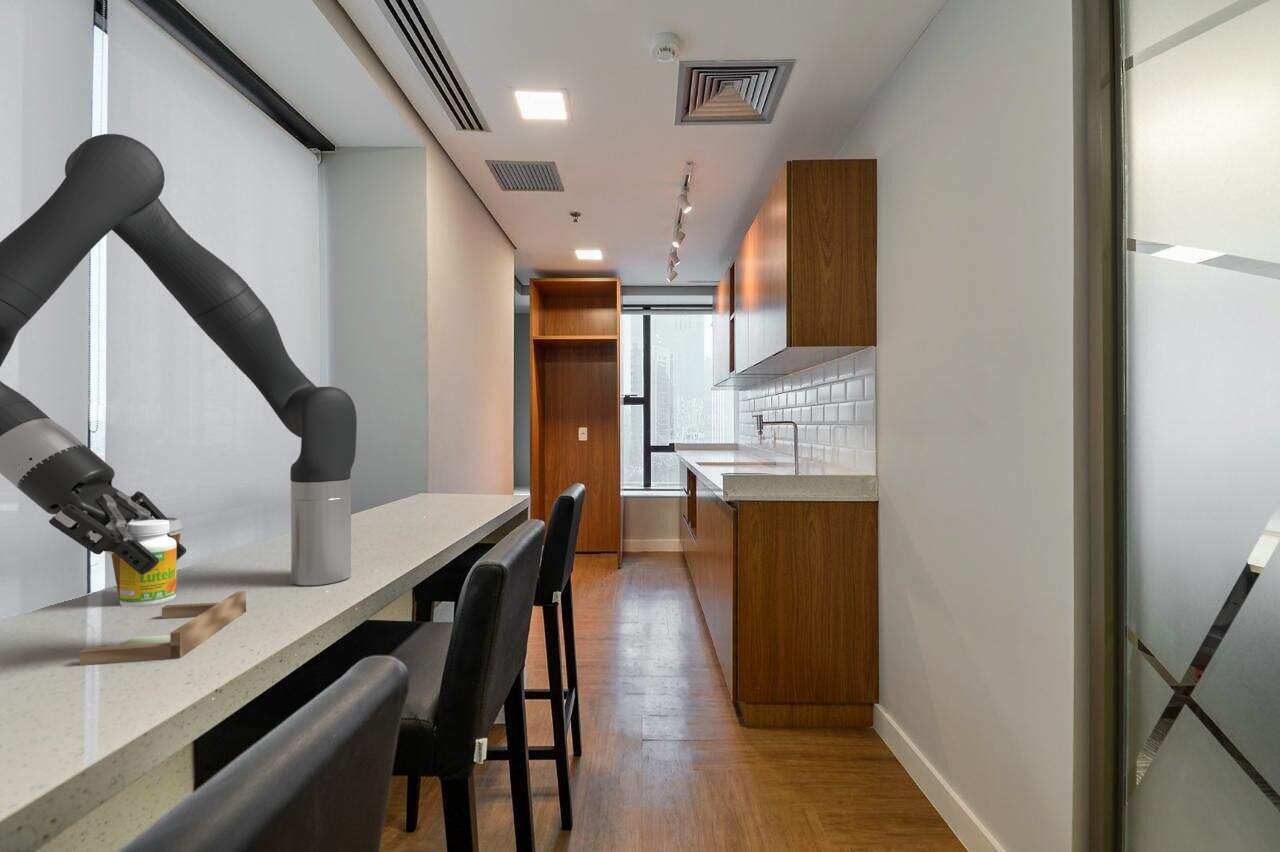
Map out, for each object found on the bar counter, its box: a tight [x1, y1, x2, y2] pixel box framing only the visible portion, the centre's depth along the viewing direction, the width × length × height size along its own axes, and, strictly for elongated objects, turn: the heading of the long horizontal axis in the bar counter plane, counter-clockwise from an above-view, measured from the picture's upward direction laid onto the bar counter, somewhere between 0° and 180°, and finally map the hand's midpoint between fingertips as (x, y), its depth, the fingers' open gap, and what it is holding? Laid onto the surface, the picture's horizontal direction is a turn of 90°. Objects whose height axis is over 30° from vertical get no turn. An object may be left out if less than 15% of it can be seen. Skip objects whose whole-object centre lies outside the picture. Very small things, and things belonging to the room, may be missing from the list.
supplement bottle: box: [119, 520, 177, 608], centre depth 74 cm, size 5×5×10 cm
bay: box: [79, 590, 247, 666], centre depth 78 cm, size 17×10×3 cm, turn 11°
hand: (165, 562), depth 74 cm, fingers closed on supplement bottle, 5 cm apart
